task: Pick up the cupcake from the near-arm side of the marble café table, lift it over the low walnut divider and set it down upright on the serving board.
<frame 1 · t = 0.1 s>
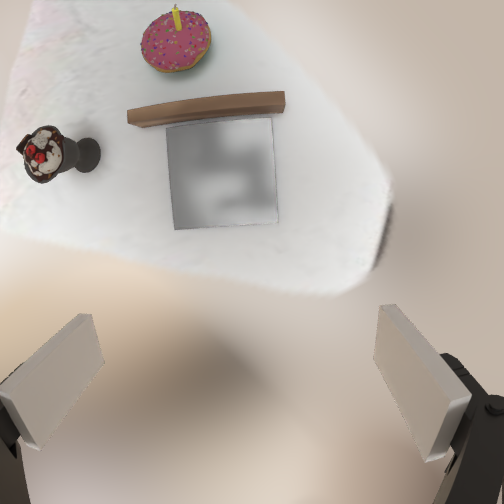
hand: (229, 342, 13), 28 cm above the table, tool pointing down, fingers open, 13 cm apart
cupcake: (184, 53, 35), on the table
sundae: (87, 155, 39), on the table
divider: (209, 112, 37), on the table
board: (222, 173, 39), on the table
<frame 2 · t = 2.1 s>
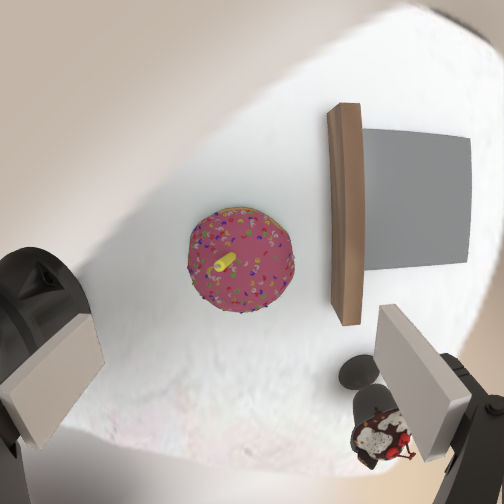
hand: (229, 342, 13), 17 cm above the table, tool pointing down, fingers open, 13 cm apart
cupcake: (243, 247, 30), on the table
sundae: (359, 371, 33), on the table
divider: (340, 211, 28), on the table
board: (416, 199, 28), on the table
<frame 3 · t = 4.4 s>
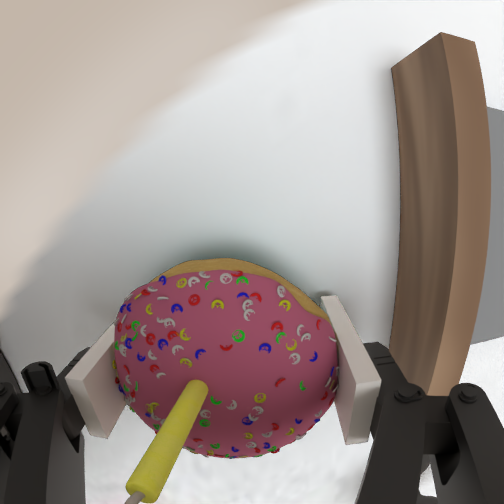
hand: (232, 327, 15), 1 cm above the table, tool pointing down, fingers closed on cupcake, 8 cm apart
cupcake: (234, 317, 16), on the table, touching gripper
sundae: (402, 467, 19), on the table
divider: (413, 251, 14), on the table
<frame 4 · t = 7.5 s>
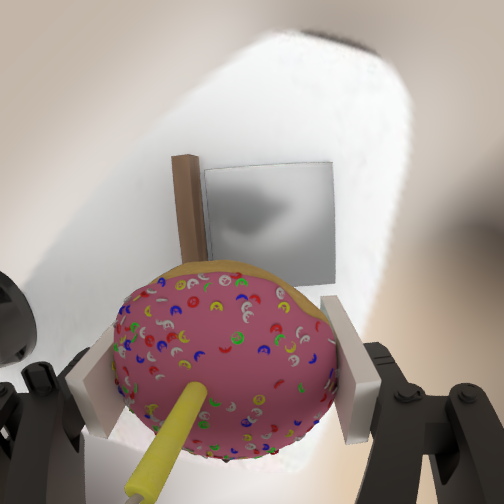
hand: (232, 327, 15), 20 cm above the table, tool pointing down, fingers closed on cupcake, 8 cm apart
cupcake: (234, 318, 16), point 19 cm above the table, touching gripper
divider: (198, 241, 34), on the table
board: (272, 226, 34), on the table
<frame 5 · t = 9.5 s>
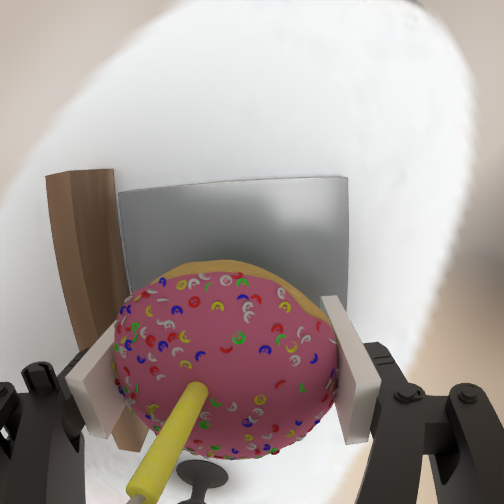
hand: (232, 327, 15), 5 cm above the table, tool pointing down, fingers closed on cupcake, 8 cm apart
cupcake: (234, 318, 16), point 4 cm above the table, touching gripper
sundae: (202, 472, 25), on the table
divider: (121, 306, 20), on the table
board: (237, 289, 19), on the table
when the fingers open (3 cm above the table, at t = 10.7 s): cupcake stays where it is, resting on board.
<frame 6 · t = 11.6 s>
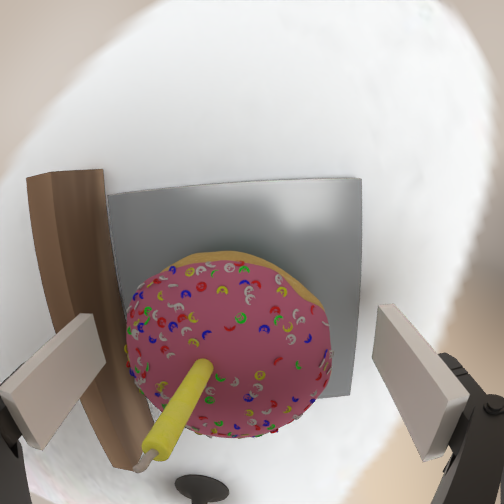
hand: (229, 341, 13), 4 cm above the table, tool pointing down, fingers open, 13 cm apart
cupcake: (236, 308, 17), point 1 cm above the table, touching board
sundae: (201, 486, 23), on the table
divider: (113, 317, 18), on the table
board: (239, 301, 18), on the table
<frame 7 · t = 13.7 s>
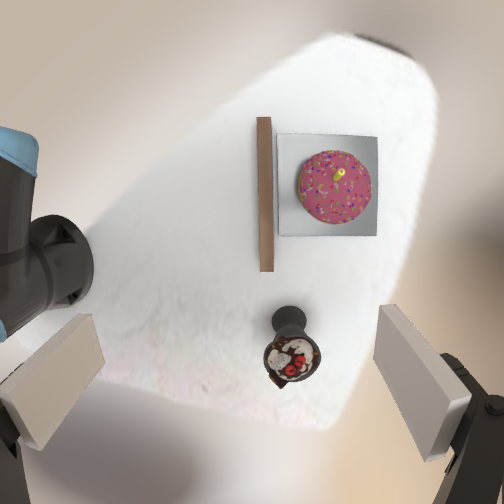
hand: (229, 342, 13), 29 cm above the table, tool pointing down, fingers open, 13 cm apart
cupcake: (328, 185, 39), point 1 cm above the table, touching board
sundae: (289, 320, 45), on the table
divider: (266, 192, 41), on the table
board: (328, 184, 40), on the table
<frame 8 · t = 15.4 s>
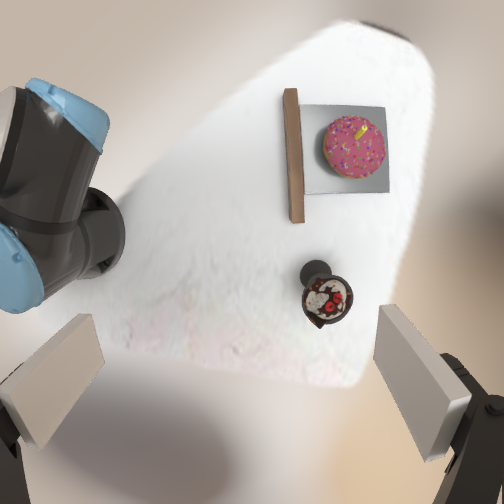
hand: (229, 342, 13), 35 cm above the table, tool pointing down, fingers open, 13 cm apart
cupcake: (346, 148, 43), point 1 cm above the table, touching board
sundae: (315, 274, 49), on the table
divider: (292, 156, 44), on the table
board: (345, 148, 44), on the table
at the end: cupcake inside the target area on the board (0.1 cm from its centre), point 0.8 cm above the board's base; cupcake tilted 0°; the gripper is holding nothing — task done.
